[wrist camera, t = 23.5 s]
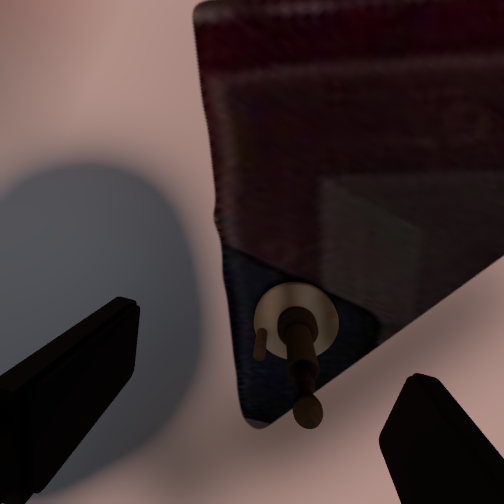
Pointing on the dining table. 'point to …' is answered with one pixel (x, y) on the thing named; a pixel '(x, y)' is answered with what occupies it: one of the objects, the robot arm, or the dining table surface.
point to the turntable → (283, 299)
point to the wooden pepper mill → (301, 362)
